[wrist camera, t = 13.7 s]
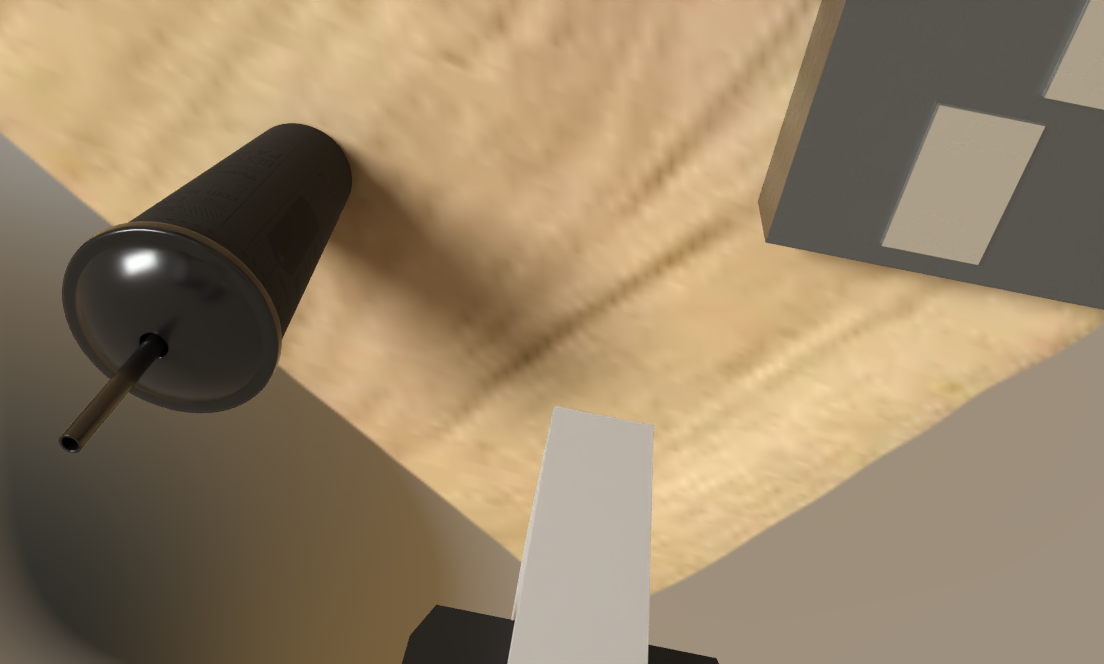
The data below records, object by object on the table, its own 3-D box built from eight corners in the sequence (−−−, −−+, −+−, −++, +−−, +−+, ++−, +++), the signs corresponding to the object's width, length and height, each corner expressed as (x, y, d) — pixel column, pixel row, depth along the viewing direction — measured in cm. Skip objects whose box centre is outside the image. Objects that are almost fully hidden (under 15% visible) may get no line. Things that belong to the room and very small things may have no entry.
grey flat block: (929, -337, 31) (968, -348, 27) (1371, -250, 31) (1476, -247, 27) (758, 201, 42) (767, 251, 38) (1083, 266, 42) (1127, 322, 38)
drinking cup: (242, 62, 41) (-54, 289, 24) (403, 137, 42) (225, 403, 25) (206, 203, 45) (-70, 480, 28) (353, 268, 46) (171, 572, 29)
